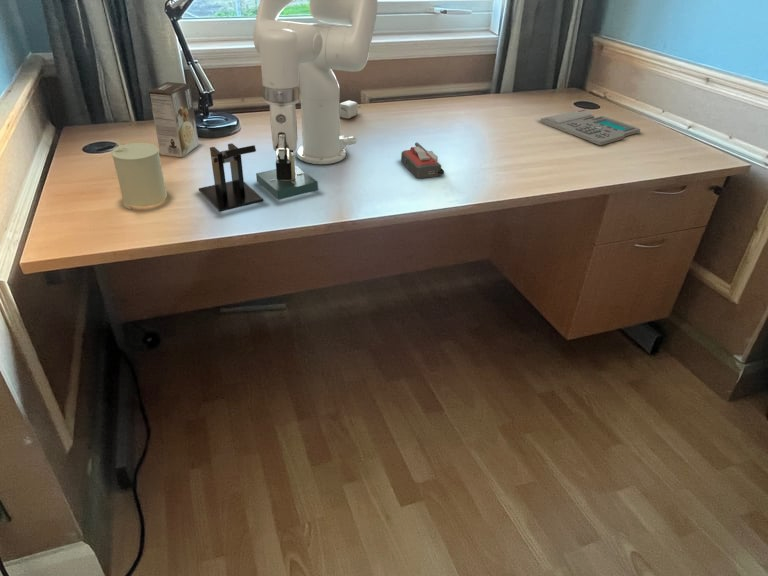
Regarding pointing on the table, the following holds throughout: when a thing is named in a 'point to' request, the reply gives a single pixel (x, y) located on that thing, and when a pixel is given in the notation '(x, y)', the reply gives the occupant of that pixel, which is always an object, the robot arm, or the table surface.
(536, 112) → the table surface
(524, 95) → the table surface
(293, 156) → the dial
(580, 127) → the office telephone
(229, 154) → the lever
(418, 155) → the walkie-talkie
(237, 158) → the pivoting lever stand
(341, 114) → the usb wall charger
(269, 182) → the dial panel
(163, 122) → the coffee box
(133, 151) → the can
